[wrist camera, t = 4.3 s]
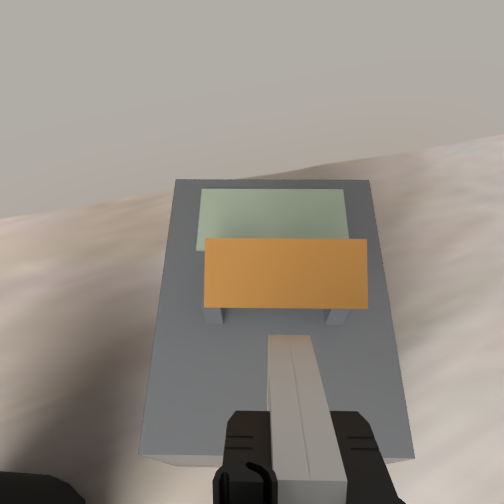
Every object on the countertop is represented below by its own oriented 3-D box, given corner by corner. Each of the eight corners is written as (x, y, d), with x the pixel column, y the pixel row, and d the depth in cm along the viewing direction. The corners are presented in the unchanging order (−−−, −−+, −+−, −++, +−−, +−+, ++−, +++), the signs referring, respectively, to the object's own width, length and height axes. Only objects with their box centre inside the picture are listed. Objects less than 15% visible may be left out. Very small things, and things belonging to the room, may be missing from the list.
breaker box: (177, 466, 31) (121, 449, 18) (196, 259, 40) (168, 149, 27) (362, 469, 31) (437, 453, 18) (340, 260, 40) (379, 150, 27)
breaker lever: (227, 299, 25) (203, 307, 14) (227, 259, 25) (205, 237, 14) (320, 299, 25) (368, 308, 14) (320, 259, 25) (366, 238, 14)
